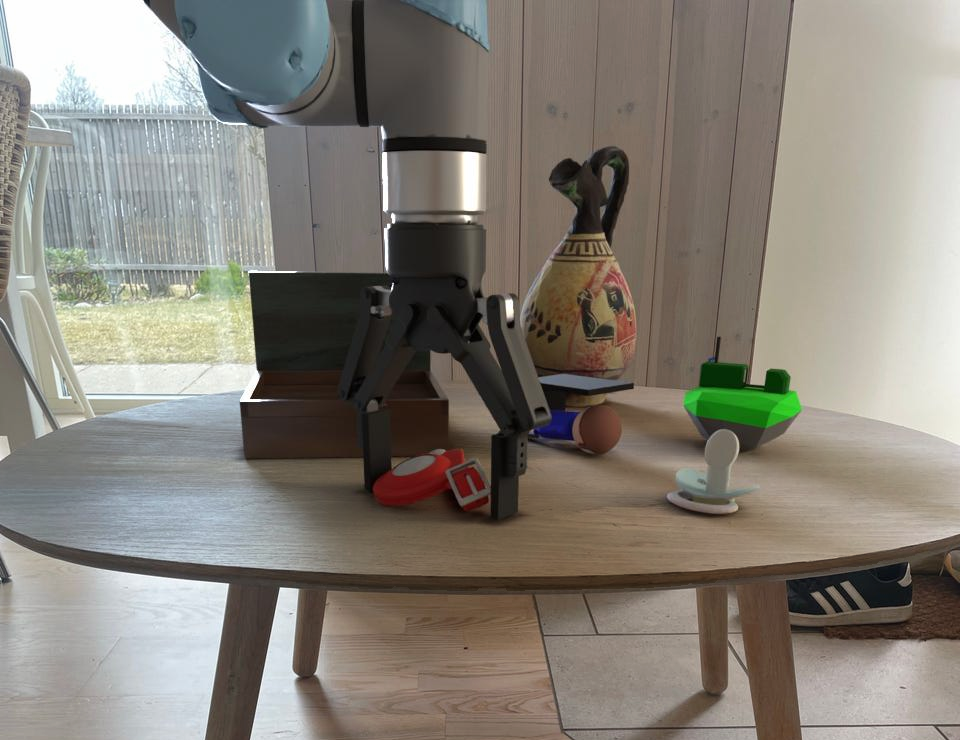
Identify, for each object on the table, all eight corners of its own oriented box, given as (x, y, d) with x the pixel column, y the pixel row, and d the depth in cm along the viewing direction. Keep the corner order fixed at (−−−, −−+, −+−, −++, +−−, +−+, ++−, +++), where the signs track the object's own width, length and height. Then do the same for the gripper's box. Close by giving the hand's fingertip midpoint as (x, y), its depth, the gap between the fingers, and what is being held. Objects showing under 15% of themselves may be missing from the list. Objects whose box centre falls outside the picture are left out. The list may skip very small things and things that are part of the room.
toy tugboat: (666, 451, 96) (677, 341, 91) (697, 431, 105) (708, 330, 101) (784, 466, 91) (802, 350, 86) (805, 444, 100) (822, 338, 96)
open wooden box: (448, 455, 93) (449, 285, 86) (244, 458, 90) (228, 283, 83) (430, 415, 112) (429, 273, 105) (261, 416, 109) (249, 271, 102)
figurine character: (497, 448, 102) (588, 460, 90) (494, 377, 100) (587, 380, 88) (544, 441, 106) (637, 452, 94) (542, 373, 103) (638, 375, 92)
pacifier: (722, 524, 73) (765, 509, 77) (730, 446, 70) (775, 434, 74) (650, 504, 78) (694, 490, 82) (655, 430, 75) (701, 419, 79)
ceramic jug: (577, 416, 112) (593, 137, 100) (490, 398, 123) (495, 143, 110) (662, 401, 123) (687, 147, 110) (576, 386, 133) (590, 151, 121)
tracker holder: (347, 491, 75) (402, 439, 83) (366, 538, 78) (419, 483, 85) (476, 476, 69) (524, 421, 77) (493, 527, 72) (538, 470, 79)
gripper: (608, 221, 64) (590, 517, 73) (349, 219, 78) (361, 469, 86) (548, 220, 59) (537, 540, 67) (282, 218, 72) (301, 485, 81)
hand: (438, 501), depth 77 cm, fingers open, 13 cm apart
